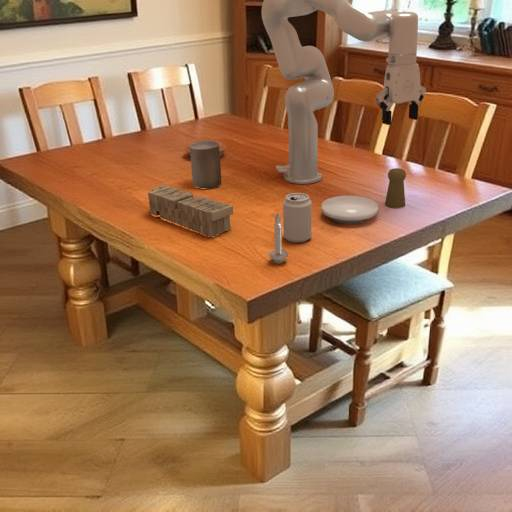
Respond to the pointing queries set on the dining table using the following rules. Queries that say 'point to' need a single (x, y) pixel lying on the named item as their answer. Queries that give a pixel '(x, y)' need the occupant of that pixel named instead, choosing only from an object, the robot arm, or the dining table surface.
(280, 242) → the screw
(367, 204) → the grey plate
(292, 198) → the can
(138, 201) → the dining table surface
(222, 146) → the pie
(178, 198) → the block tower
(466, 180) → the dining table surface
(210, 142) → the pillar candle
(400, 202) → the cork
